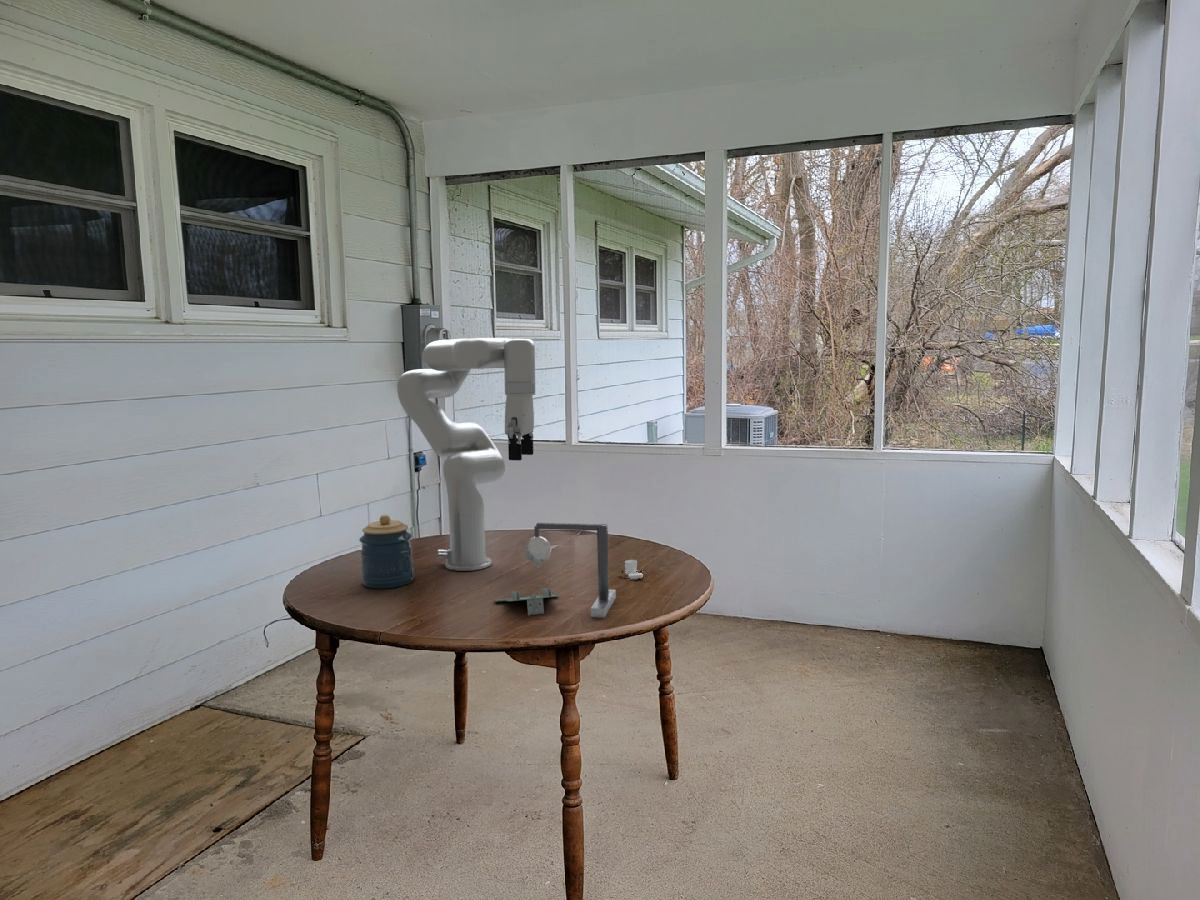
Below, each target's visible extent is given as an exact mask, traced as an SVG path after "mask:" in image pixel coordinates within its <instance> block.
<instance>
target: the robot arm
mask: <svg viewBox="0 0 1200 900" xmlns="http://www.w3.org/2000/svg"><path fill="white" fill-rule="evenodd" d="M535 346H536V345H535V342H534V340H532V339H529V338H509V337H508V338H507V337H501V338H500V337H478V338H477V337H475V338H466V337H465V338H463V337H462V338H451V339H440V340H439V339H438V340H433V341H432V342H429V343H428V344H426V346H425V347H424V348H423V351H422V360H423V362H424V363H425V365H426V366H427V367H428V368H418V369H411V370H408V371H407V370H406V371H405V372H404V373H401V375H400V376H399V378H398V380H397V383H396V391H397V396H398V400H399V403H400V405H401V407H402V408H403V410H404V412H405V413H406V414H407V416H408V417H409V418H410V419H411V420H412V422H414V424H415V425H416V426H417V427H418V429H419V430H420V432H421V433H422V435H423V437H424V438H425V440H426V441H427V442H428V444H429V446H430V448H432V450H433V452H434V453H435V454H436V455H437V456H439V457H441V458H445V460H444V461H443V463H442V464H443V465H442V472H443V474H442V475H443V478H444V482H445V487H446V491H447V492H446V493H447V503H448V505H447V507H448V522H449V523H448V526H449V527H448V529H449V545H450V546H449V547H450V548H449V549H437V552H436V554H437V555H436V556H437V557H438V559H439V558H440V559H446V561H445V563H444V565H445V568H446V569H447V570H450V571H455V572H458V571H459V572H470V571H477V570H482V569H486V568H488V567H490V566H491V565H492V559H491V558H490V557H488V556H486V535H485V531H486V530H485V508H484V507H485V506H484V505H485V504H484V499H483V497H482V494H481V492H480V491H479V490H478V488H477V486H479V485H483V484H488V483H489V484H490V483H494V482H497V481H499V480H500V479H502V478H503V476H504V474H505V471H506V464H505V461H504V458H503V456H502V454H501V452H500V450H499V449H498V447H497V446H496V444H495V443H494V442H493V440H492V439H491V438H490V436H489V435H488V433H487V431H486V430H485V429H484V428H483V427H482V425H480V424H478V423H477V422H473V421H461V422H455V421H453V420H451V419H450V417H448V415H447V413H446V411H445V410H444V409H443V408H442V407H441V406H439V405H438V404H437V403H435V402H434V401H432V400H431V399H442V398H450V397H453V396H454V395H455V394H456V393H458V391H459V390H460V388H461V387H462V385H463V383H464V381H465V380H466V379H467V377H468V375H469V373H470V372H471V370H474V369H475V370H482V369H484V370H485V369H504V395H505V396H506V397H505V406H504V434H505V435H506V436H507V439H508V440H507V444H508V446H507V447H508V460H509V461H522V459H523V456H533V455H534V427H535V414H534V413H535V412H534V409H535V408H534V398H533V396H535V395H536V357H535V356H536V354H535V353H536V349H535V348H536V347H535Z"/></svg>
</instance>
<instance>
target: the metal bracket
mask: <svg viewBox="0 0 1200 900" xmlns="http://www.w3.org/2000/svg"><path fill="white" fill-rule="evenodd" d="M540 590H541V595H537V594H536V593H532V594H531V595H529V596H522V597H521V595H520V591H519V590H514V591H510V598H502V599H501V598H499V599H494V602H515V601H518V602H519V601H524V600H525V601H526V605H527V607H526V608H527V615H528V616H531V615H533V616H534V615H540V614H541V615H543V614H545V609H544V607H545V606H544V599H545V598H556V597H560V593H552V589H551V587H548V588H547V587H543V588H541V589H540Z"/></svg>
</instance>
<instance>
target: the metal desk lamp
mask: <svg viewBox="0 0 1200 900" xmlns="http://www.w3.org/2000/svg"><path fill="white" fill-rule="evenodd" d="M608 526H609V525H608V524H605V523H604V524H603V523H600V524H599V523H565V522H564V523H559V522H537V523H536V525H534V536H532V537H530V538H529V539H528V540H527V541H526V542H525V544H524V549H523V550H524V555H525V557H526V559H528V560H529V561H530V562H532V563H535V564H536V569H541V563H543V562H545V561H546V560H548V558H549V557H550V556H551V553H552V544H551V542H550V541H549V539H548V538H546V537H544V536H542V535H541V530H556V531H557V530H558V531H559V530H561V531H562V530H563V531H567V530H568V531H596V539H597V540H596V542H597V545H596V546H597V550H596V551H597V589H598V590H597V591H598V592H597V593H598V594H597V598H596V599H595V601H594V603H593V604H592V606H591V607H590V617H591V618H600V619H601V618H603V619H604V618H605V617H606V616H607V614H608V612H609V610H610V609H611V607H612V606H613V603H614V602H615V600H616V599H617V595H616V593H617V591H616V589H610V585H609V584H610V583H609V581H610V578H609V538H608V536H609V533H608V532H609V531H608V530H609V529H608Z"/></svg>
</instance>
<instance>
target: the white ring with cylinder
mask: <svg viewBox="0 0 1200 900" xmlns="http://www.w3.org/2000/svg"><path fill="white" fill-rule="evenodd" d="M624 567H625V571H626V572H625V574H626V576H627V575H628V576H627V577H628V578H630V579H629V580H638V579H639V578H640V579H643V578H642V577H643V574H642V573H638V572H636V571H638V570H637V568H638V561H637V560H636V559H628V560H625V561H624ZM640 579H639V580H640Z"/></svg>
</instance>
